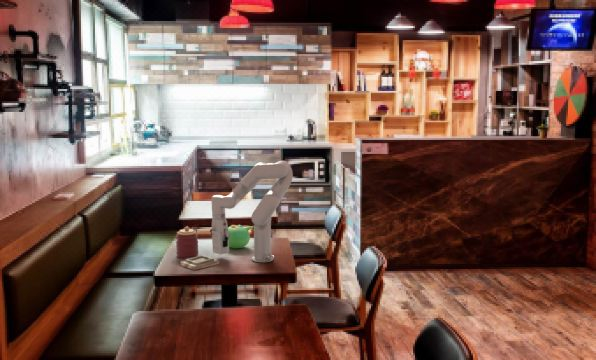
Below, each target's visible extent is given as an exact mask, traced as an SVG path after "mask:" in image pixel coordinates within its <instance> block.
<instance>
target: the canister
mask: <svg viewBox="0 0 596 360" xmlns="http://www.w3.org/2000/svg"><path fill="white" fill-rule="evenodd" d="M197 233H198V232H197V231H196V230H195V229H193V228H190V227H189V226H185V227H184V228H182V229H179V231H177V232H176V234H177V235H176V236H175V238H176V241H175V244H176V247H175V249H176V251H175V253H176V254H175V255H176V257H177V258H179V259H189V258H193V257H197V256H199V241H198V237H199V235H198V234H197Z"/></svg>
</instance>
